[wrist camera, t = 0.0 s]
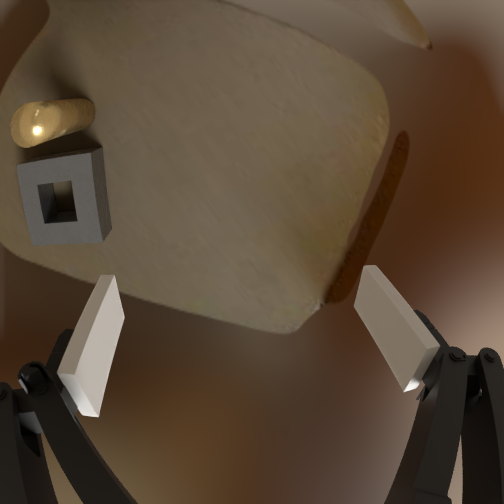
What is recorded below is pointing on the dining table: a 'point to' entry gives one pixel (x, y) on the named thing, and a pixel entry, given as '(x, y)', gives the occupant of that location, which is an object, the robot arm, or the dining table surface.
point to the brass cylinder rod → (50, 120)
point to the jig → (84, 191)
